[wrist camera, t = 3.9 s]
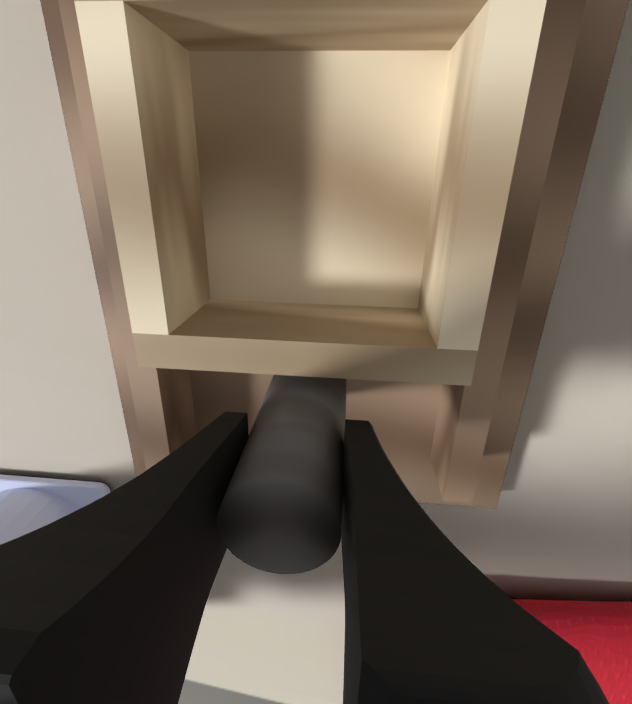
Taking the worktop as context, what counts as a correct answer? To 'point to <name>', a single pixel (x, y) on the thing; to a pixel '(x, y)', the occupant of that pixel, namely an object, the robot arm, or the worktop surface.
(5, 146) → the worktop surface
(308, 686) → the worktop surface
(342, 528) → the robot arm
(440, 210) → the drawer
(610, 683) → the dish drying mat
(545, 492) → the worktop surface
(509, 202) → the bay
